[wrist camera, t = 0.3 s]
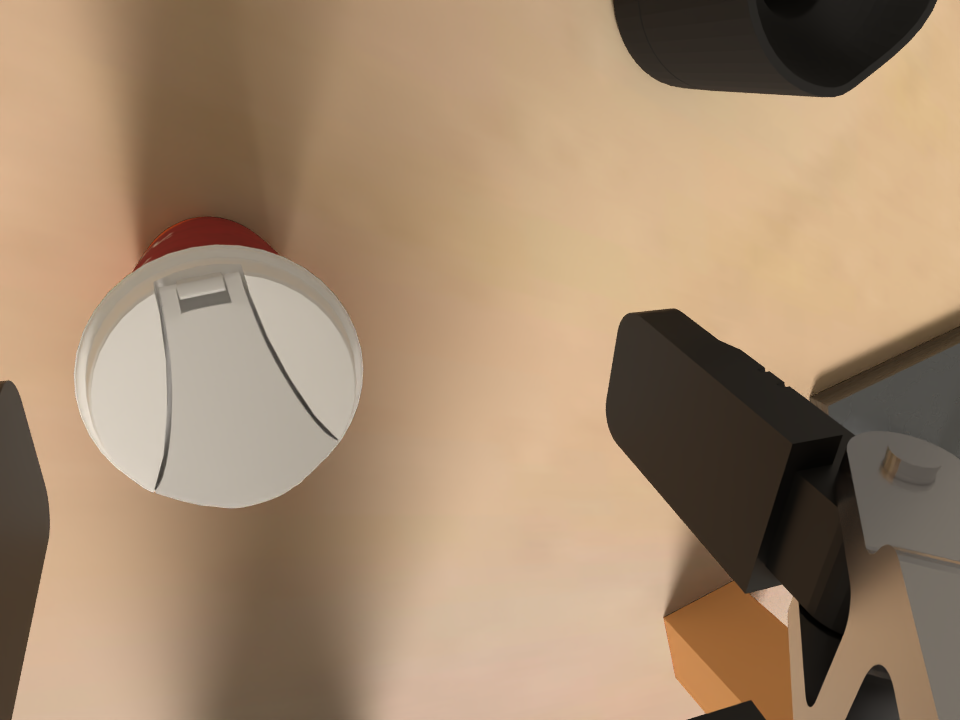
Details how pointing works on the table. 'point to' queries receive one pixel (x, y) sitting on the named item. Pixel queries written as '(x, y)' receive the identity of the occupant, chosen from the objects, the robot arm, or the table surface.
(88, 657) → the table surface
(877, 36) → the pen holder
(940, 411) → the shaft stand
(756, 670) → the tan rectangular holder
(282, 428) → the paper cup
